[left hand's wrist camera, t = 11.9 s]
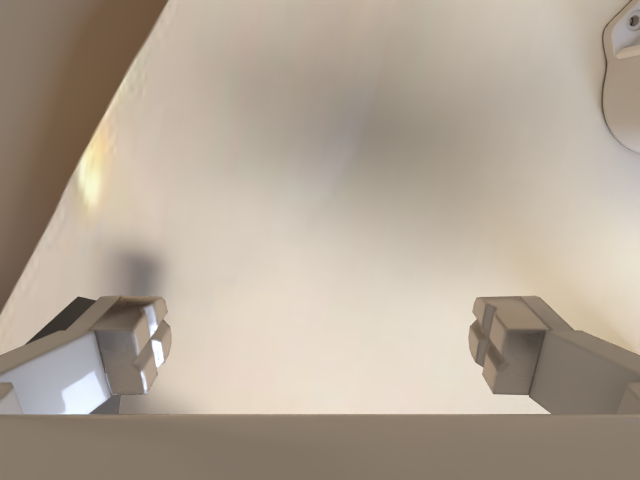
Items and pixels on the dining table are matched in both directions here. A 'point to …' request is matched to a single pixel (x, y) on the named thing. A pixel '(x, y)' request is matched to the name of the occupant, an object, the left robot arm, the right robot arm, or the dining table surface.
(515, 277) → the dining table surface
